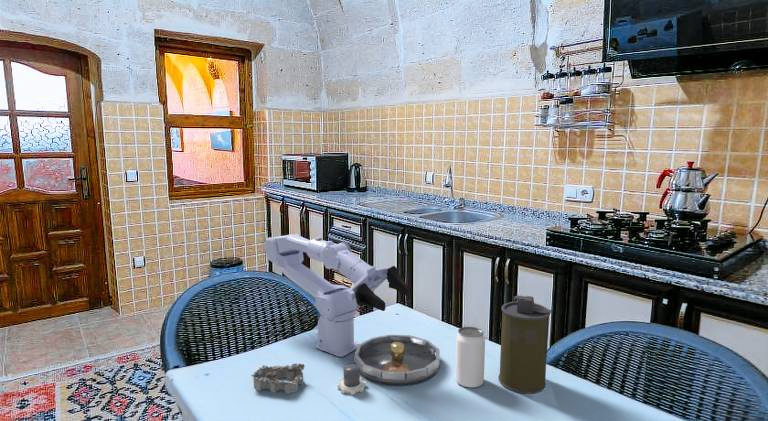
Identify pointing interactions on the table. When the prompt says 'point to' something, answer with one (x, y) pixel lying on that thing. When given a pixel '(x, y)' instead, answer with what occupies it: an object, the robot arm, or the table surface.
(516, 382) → the canister
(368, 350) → the bowl
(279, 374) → the egg carton
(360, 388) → the gear
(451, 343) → the table surface
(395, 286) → the robot arm
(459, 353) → the can
